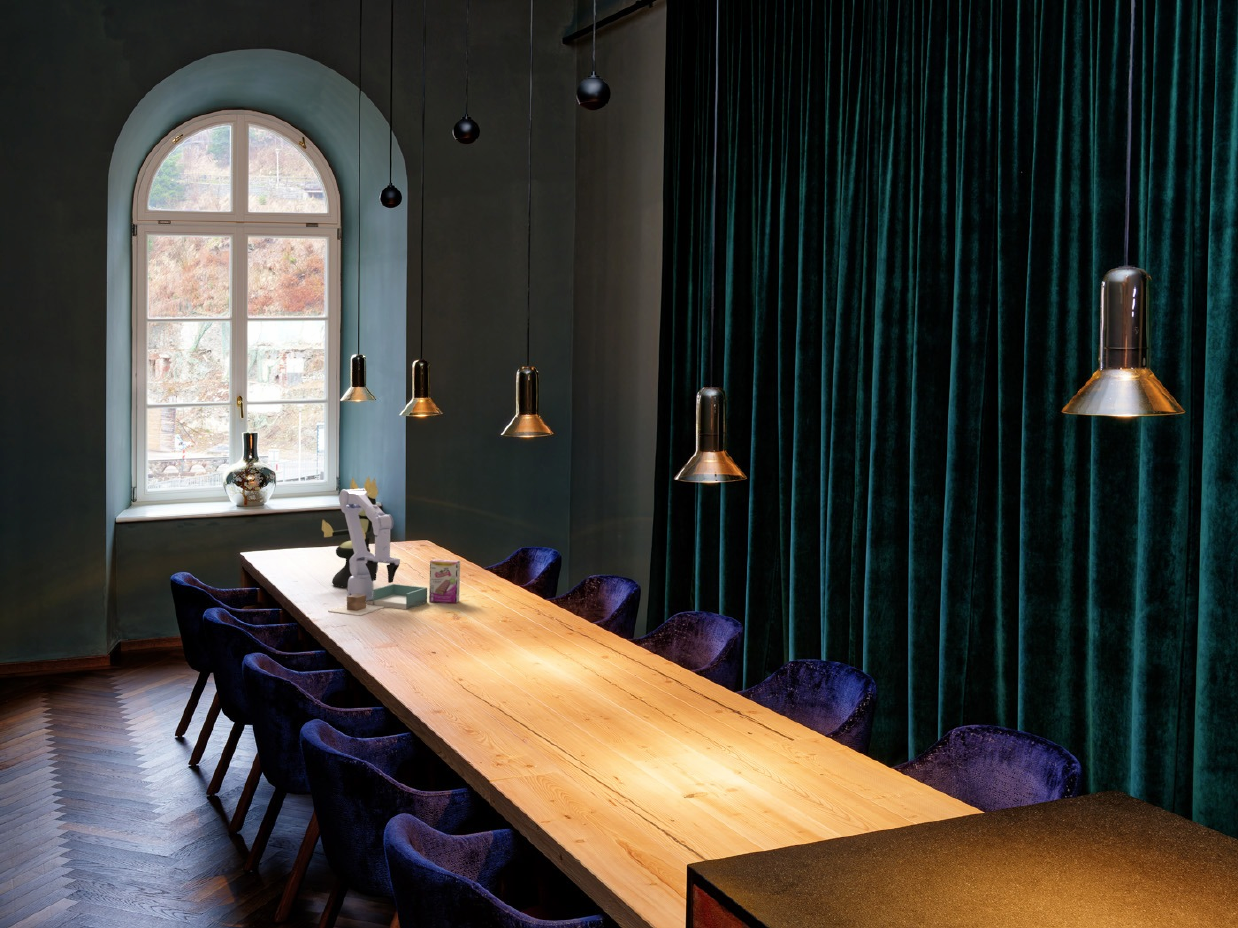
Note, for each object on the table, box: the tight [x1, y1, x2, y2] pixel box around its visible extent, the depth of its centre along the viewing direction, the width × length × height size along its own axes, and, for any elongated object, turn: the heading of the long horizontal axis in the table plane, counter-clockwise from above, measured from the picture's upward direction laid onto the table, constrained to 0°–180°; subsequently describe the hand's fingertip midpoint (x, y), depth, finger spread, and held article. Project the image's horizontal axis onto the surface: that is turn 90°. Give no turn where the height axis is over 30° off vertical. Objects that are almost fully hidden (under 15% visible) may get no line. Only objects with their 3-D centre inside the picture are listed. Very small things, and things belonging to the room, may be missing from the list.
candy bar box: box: [428, 558, 461, 604], centre depth 467 cm, size 11×5×16 cm, turn 84°
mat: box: [328, 604, 385, 617], centre depth 449 cm, size 14×16×1 cm
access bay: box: [372, 583, 428, 610], centre depth 461 cm, size 16×14×6 cm
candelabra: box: [321, 475, 379, 589], centre depth 496 cm, size 19×22×45 cm
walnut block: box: [346, 594, 367, 611], centre depth 449 cm, size 4×6×5 cm
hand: (382, 581), depth 457 cm, fingers open, 7 cm apart
